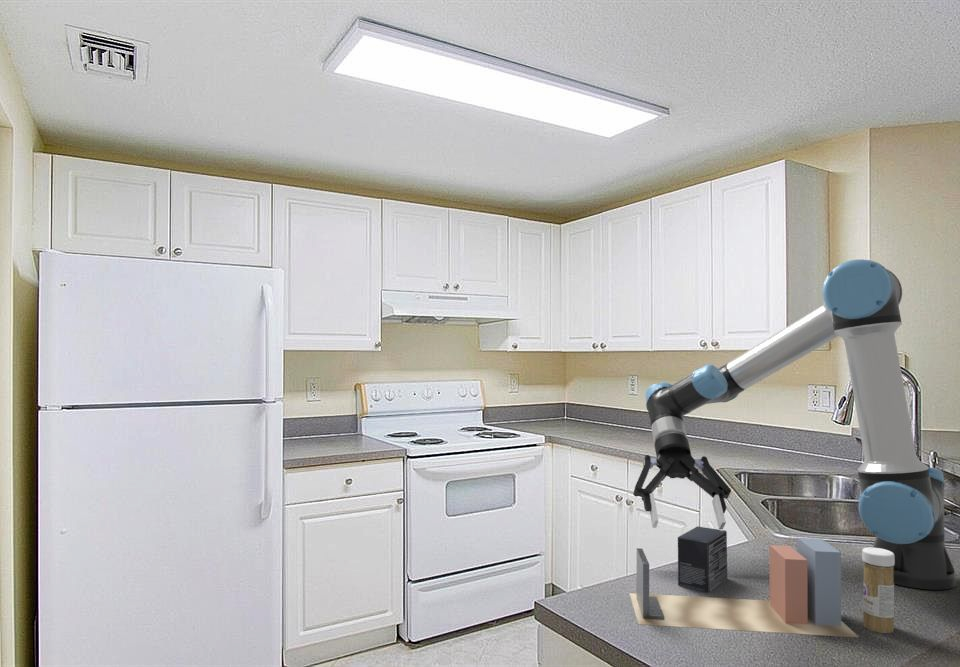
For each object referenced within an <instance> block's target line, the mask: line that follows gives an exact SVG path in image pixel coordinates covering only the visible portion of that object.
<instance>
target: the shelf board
mask: <svg viewBox="0 0 960 667" xmlns="http://www.w3.org/2000/svg"><path fill="white" fill-rule="evenodd" d="M628 594H629V597H630V600H631V604H632V606H633V610H634V613H635V617H636V621H637V623H638V625H641V626H655V627H656V626H659V627H673V628H674V627H675V628H690V629H691V628H692V629H693V628H694V629H709V630H726V631H740V632H741V631H743V632H757V633H758V632H760V633H774V634H775V633H776V634H794V635H808V636H809V635H810V636H827V637H842V638H843V637H845V638H859V635H858V634H856V633H855V632H854V631H853V630H852V629H851V628H850V627H848V625H847V624H845V623H844V622H843V621H842V620H841V626H827V625H815V624H814V623H813V622H812V621H811V620H810V618H809V617H808V624H792V623H785V622H784V621H783V620H782V619H781V617H780V616H779V615H778V614H777V613H776V612H775V610H774V609H773V608H772V607H771V606H770V600H767V599H766V600H765V599H764V600H763V599H745V598H742V599H741V598H729V597H728V598H726V597H710V596H709V597H708V596H707V597H706V596H692V595H691V596H690V595H689V596H688V595H673V594H672V595H671V594H653V593H651V594H650V593H649V596H652V597H657V600H658V602H659V605H660V607H661V609H662V612H663V614H664V620H661V619H644V618H643V617H642V614H641V611H640V608H639V605H638V602H637V599H636V593H634V592H631V593H630V592H629V593H628Z"/></svg>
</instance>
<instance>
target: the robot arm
mask: <svg viewBox="0 0 960 667" xmlns="http://www.w3.org/2000/svg"><path fill="white" fill-rule="evenodd" d="M821 290H822V298H823V303H822V304H821V305H820V306H819V307H817V308H815V309H814V310H812V311H810V312H809V313H807V314H805V315H804V316H802V317H801V318H799V319H798V320H796V321H794V322H792V323H791V324H789V325H788V326H785V328H783V329H782V330H781V329H780V331H778V332H776V333H775V334H773V335H771V336H770V337H768V338H767V339H765V340H763V341H762V342H759V343H758V344H756V345H755V346H753V347H752V348H750V349H749V350H747V351H745V352H744V353H742V354H740V355H739V356H737V357H735V358H734V359H732V360H730V361H729V362H727V363H726V364H724V365H722V366H720V367H716V366H715V365H713V364H706V365H704V366H702V367H700V368H697V369H695V370H694V371H693V372H692V373H689V374H688V375H686V376H685V377H684V378H682V379H680V380H679V381H677V382H675V383H673V384H671V383H669V382H664V381H663V382H659V383H654V384H652V385H650V386H649V387H648V388H647V389H646V391H645V401H646V402H645V407H646V411H647V414H648V417H649V423H650V429H651V434H652V438H653V440H652V441H653V444H654V451H655V455H656V458H654V457H651V456H650V455H649V454H647V455H645V457H644V459H643V464H642V465H643V468H642V470H641V472H640V474H639V476H638V479H637V481H636V483H635V486H634V490H633V493H632V494H633V496H634V497H636V498H637V497H640V498H641V500H642V502H643V507H644V510H645V512H649V513H650V514H649V515H650V521H651V526H652V527H651V528H653V529H655V528H656V529H657V527H658V523H659V516H658V512H657V506H656V499H655V495H654V493H653V492H654V491H655V490H656V489H657V488H658V486H659V485H660V484H661V483H662V482H663V481H664V480H665V479H666V478H667V477H669V478H670V479H683V480H684V479H688V480H689V481H690V482H693V483H695V484H696V485H697V486H698V487H699V488H701V489H702V490H703V491H704V492H705V493H706V494H708V495H709V496H710V497H711V498H712V506H713V510H714V514H715V515H714V516H715V519H716V523H717V526H718V530H724V527H725V526H726V523H727V521H726V517H725V515H724V514H725V512H726V511H727V505H726V501H725V499H726V500H727V499H729V497H730V495H731V492H732V489H731V488H730V487H729V485H728V484H727V483H726V482H725V481H724V480H723V478H722V477H721V475H719V474H718V472H717V471H716V470H715V469H714V468H713V467H712V466H711V465H710V462H709V460H708V458H707V456H702V457H701V458H696V459H695V458H694V457H693V455H692V452H691V446H690V444H689V440H688V435H687V431H686V427H685V422H684V416H686V415H688V414H690V413H692V412H693V411H695V410H697V409H699V408H700V407H703V406H705V405H708V404H709V405H710V404H716V403H717V404H718V403H727V402H730V401H733V400H734V399H736V398H737V397H738V395H740V394H741V393H743V392H744V391H745V390H747V389H749V388H750V387H752V386H755V385H756V384H758V383H759V382H761V381H762V380H765V379H766V378H767V377H770V376H772V375H773V374H775V373H777V372H779V371H780V370H782V369H784V368H786V367H787V366H789V365H791V364H792V363H794V362H796V361H798V360H799V359H802V358H803V357H805V356H806V355H808V354H810V353H812V352H813V351H815V350H817V349H819V348H821V347H822V346H824V345H825V344H828V343H829V342H831V341H833V340H835V339H837V338H838V337H840V338H841V339H842V340H844V347H845V351H846V358H847V363H848V364H847V366H848V370H849V377H850V382H851V387H852V392H853V399H854V404H855V410H856V418H857V423H858V429H859V433H860V440H861V445H862V446H861V447H862V450H863V453H862V454H863V458H864V461H863V462H862V464H861V465H860V466H859V467H858V468H857V476H858V481H859V487H860V493H861V494H860V496H859V500H858V513H859V517H860V519H861V522H862V523H863V524H864V526H865V527H866V528H867V529H868V531H870V532H871V533H872V534H873V535H874V536H876V538H875V539H874V542H873V545H872V547H873V548H881V549H885V550H889V551H891V552H893V553H894V556H895V565H894V568H893V574H894V575H893V577H894V578H893V579H894V580H893V581H894V585H899V586H903V587H908V588H912V589H913V588H914V589H921V590H931V591H932V590H936V591H939V590H941V591H943V590H949V589H953V588H955V587H956V585H957V577H956V576H957V575H956V574H957V573H956V571H955V568H954V566H953V562H952V561H951V558H950V555H949V551H948V550H947V547H946V543H945V541H946V539H945V533H946V532H945V531H946V530H945V486H946V481H945V480H944V479H945V478H944V473H943V471H942V470H941V469H939V468H936V467H929V466H928V465H927V464H925V463H924V462H922V461H921V460H919V458H918V457H917V452H916V446H915V441H914V435H913V430H912V424H911V419H910V414H909V407H908V402H907V396H906V391H905V387H904V386H905V384H904V381H903V376H902V369H901V364H900V359H899V358H900V357H899V352H898V347H897V341H896V336H895V333H896V331H897V330H898V329H899V328H900V326H902V324H903V323H902V316H901V312H900V310H901V309H900V306H899V305H900V303H901V302H902V298H903V288H902V284H901V282H900V279H899V278H898V277H897V275H895V274H894V273H893V272H892V271H891V270H889V269H887V268H886V267H885V266H883V265H882V264H881V263H879V262H877V261H874V260H870V259H851V260H847V261H845V262H842V263H840V264H838V265H836V266H835V267H834V268H833V269H832V270H831V271H830V272H829V273H828V274H827V275H826V277H825V279H824V281H823V284H822V289H821ZM655 465H656V467H657V468H658V469H659V471H658V472H657V473H656V474H655V476H654V477H653V478H652V479H651V480H650V482H648V484H647V485H646V486H645V487H644V488H643V486H644V485H645V484H644V483H645V482H646V479H647V476H648V475H649V472H650V469H652V468H654V466H655ZM695 466H696V467H697V468H696V467H695ZM699 470H700V471H701V472H702V473H703V474H702V473H701V472H700V471H699Z"/></svg>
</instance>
